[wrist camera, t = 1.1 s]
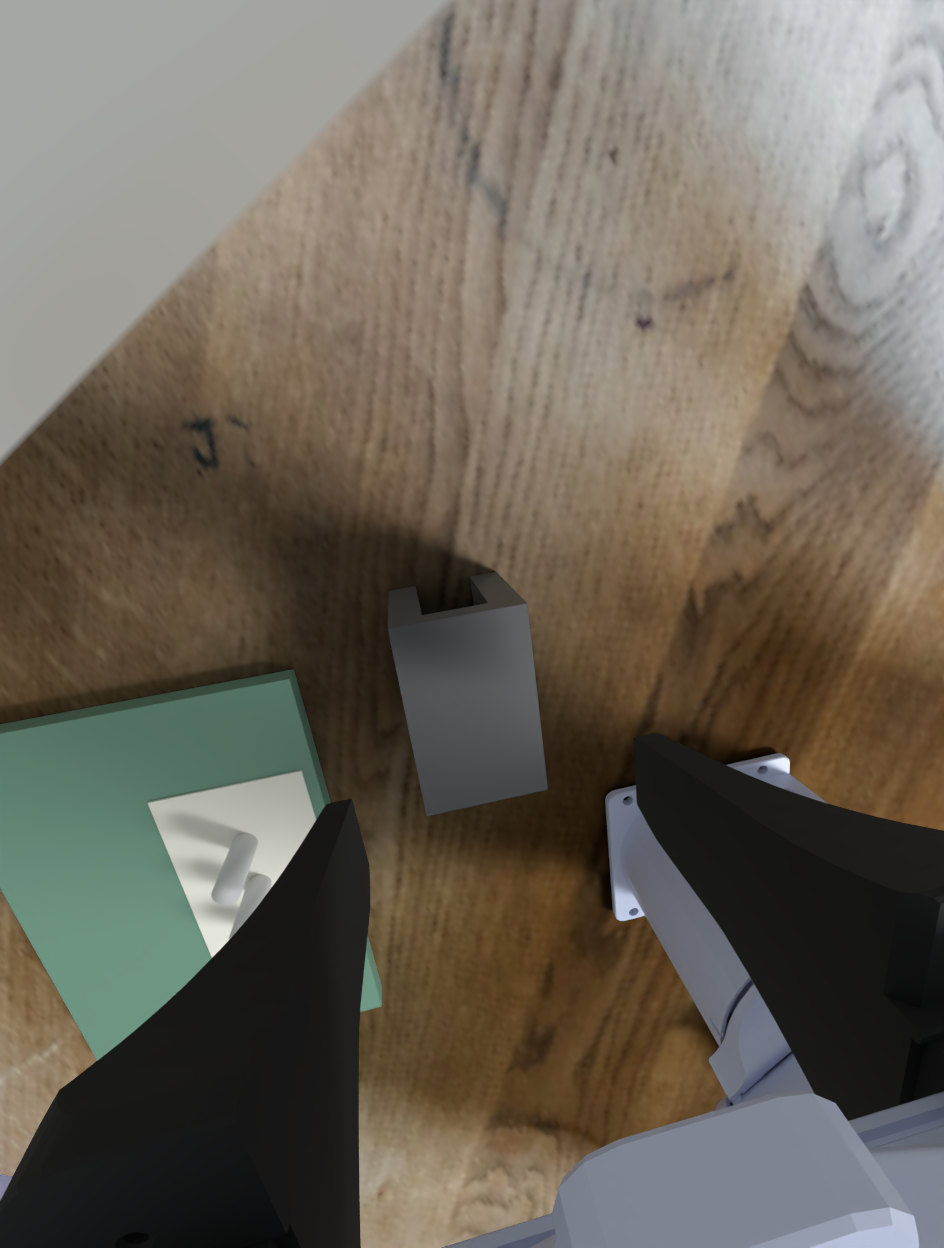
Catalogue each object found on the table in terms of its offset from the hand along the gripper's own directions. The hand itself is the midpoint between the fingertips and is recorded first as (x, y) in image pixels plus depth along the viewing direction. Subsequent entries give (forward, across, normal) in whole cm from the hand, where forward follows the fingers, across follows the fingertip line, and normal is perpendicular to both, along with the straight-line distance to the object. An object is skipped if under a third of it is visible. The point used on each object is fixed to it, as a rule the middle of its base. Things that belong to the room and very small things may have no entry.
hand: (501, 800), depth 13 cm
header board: (+9, +13, +8) cm, 18 cm away
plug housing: (+10, 0, 0) cm, 10 cm away
